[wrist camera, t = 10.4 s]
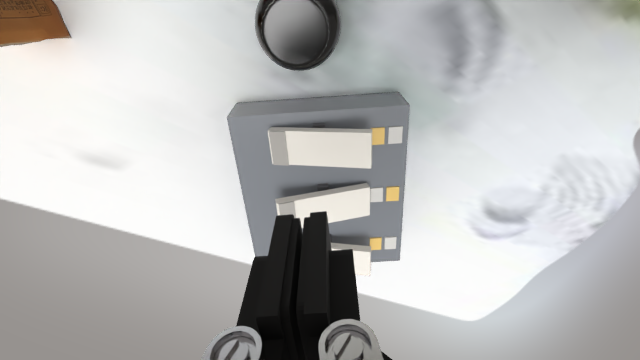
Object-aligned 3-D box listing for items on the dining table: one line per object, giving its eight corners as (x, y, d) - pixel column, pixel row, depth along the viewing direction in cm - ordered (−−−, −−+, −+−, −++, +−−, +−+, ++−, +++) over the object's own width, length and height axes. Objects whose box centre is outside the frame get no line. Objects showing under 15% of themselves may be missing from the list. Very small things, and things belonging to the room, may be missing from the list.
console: (398, 91, 38) (411, 107, 33) (391, 235, 47) (400, 264, 42) (237, 102, 38) (225, 119, 33) (263, 243, 48) (257, 272, 43)
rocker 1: (372, 129, 31) (371, 133, 30) (372, 163, 33) (370, 169, 32) (271, 127, 34) (266, 131, 33) (275, 159, 35) (271, 164, 34)
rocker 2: (366, 182, 37) (370, 188, 36) (366, 210, 39) (370, 216, 38) (275, 198, 35) (276, 205, 34) (279, 227, 37) (280, 233, 36)
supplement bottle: (267, -24, 32) (243, -32, 22) (339, -19, 32) (350, -25, 22) (268, 52, 35) (248, 78, 25) (333, 56, 36) (340, 83, 25)
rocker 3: (371, 246, 38) (370, 253, 37) (370, 270, 40) (370, 277, 39) (286, 238, 40) (283, 245, 39) (289, 261, 42) (286, 268, 41)
